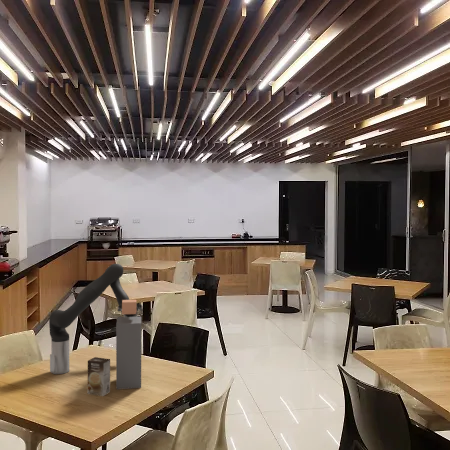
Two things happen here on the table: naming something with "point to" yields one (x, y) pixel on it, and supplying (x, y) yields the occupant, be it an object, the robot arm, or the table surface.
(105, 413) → the table surface
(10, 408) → the table surface
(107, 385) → the coffee box
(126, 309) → the salmon orange block
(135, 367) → the pedestal
